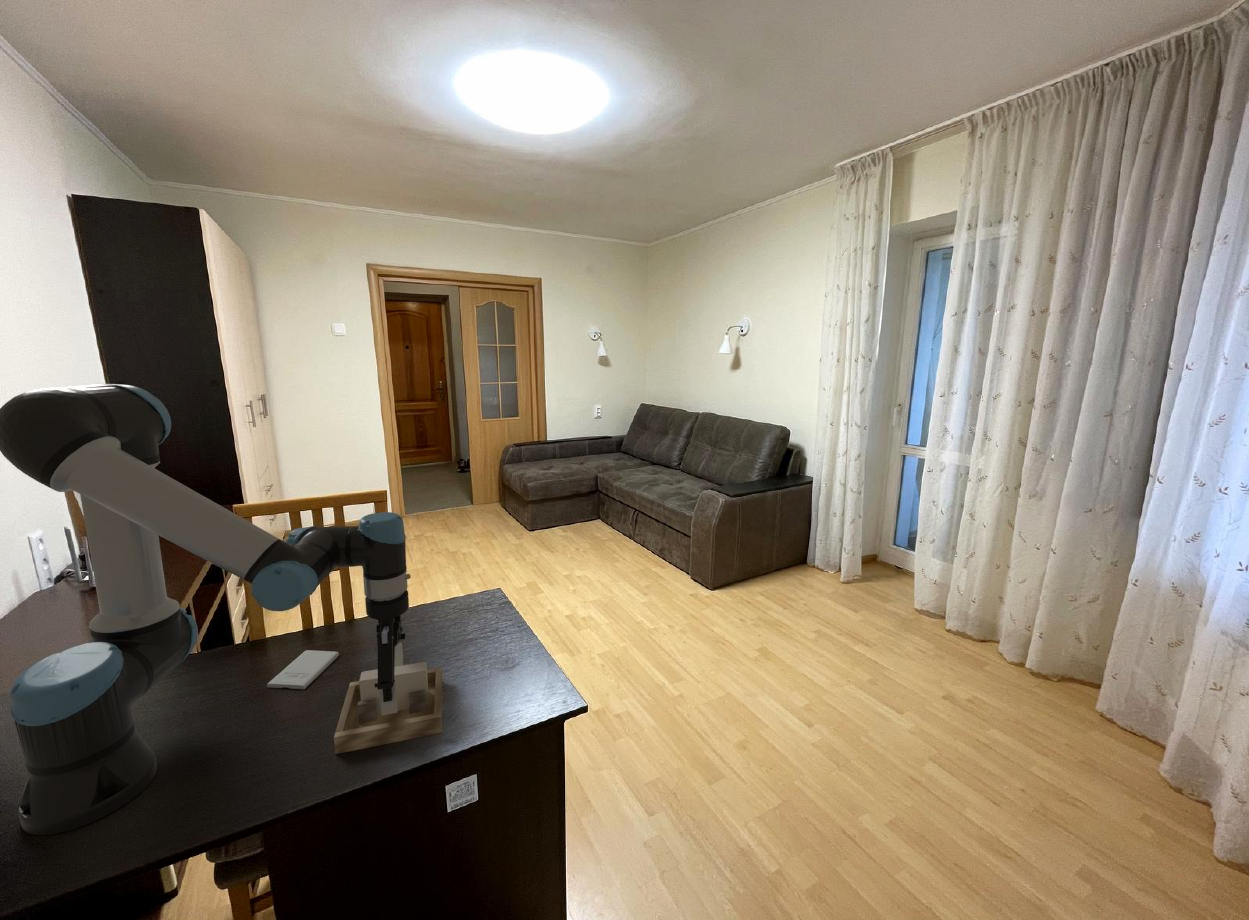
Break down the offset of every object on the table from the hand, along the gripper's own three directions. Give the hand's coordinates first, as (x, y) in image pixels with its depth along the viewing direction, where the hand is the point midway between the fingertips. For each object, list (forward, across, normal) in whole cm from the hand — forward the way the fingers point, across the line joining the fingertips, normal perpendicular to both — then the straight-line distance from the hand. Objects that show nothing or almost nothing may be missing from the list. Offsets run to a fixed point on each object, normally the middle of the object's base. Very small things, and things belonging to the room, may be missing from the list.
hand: (393, 690), depth 100 cm
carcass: (+5, -1, 0) cm, 5 cm away
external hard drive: (+6, +20, +20) cm, 29 cm away
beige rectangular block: (+4, 0, 0) cm, 4 cm away
